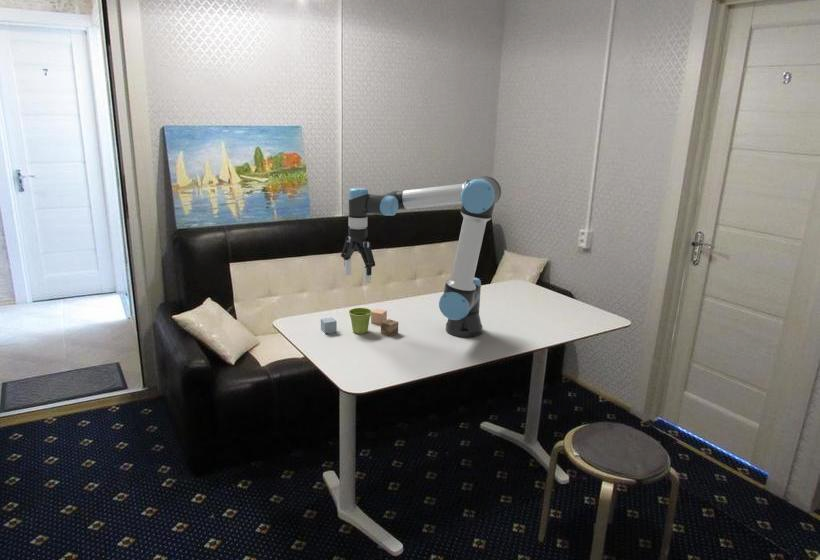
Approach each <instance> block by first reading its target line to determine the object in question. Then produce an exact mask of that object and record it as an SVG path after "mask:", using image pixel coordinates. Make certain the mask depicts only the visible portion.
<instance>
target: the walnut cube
mask: <svg viewBox="0 0 820 560" xmlns="http://www.w3.org/2000/svg"><path fill="white" fill-rule="evenodd" d="M380 334H381V335H383V336H387V337H393V336H395V335H397V334H399V321H397V320H393V319H390V318H389V319H387V320H385V321H383V322H381V325H380Z"/></svg>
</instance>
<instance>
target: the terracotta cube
mask: <svg viewBox="0 0 820 560" xmlns="http://www.w3.org/2000/svg"><path fill="white" fill-rule="evenodd" d="M371 311H372V313H371V316H370V324H373V323H375V325H379V324H380V325H379V326H381V322H383V321H385V320H388V319H387V318H388V310H386V309H385V310H384V309H381V308H380V309H379V308H375V309H373V310H371Z"/></svg>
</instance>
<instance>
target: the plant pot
mask: <svg viewBox="0 0 820 560" xmlns="http://www.w3.org/2000/svg"><path fill="white" fill-rule="evenodd" d="M372 311H373V310H372V309H369V308H368V307H367V308H366V307H353V308H351V309H350V310H348V314H349V316H350V320H351V327H352V333H355V334H357V335H363V334H365V333H366V334H367V333H368V330H369V325H370V320H371V313H372Z"/></svg>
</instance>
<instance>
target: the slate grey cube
mask: <svg viewBox="0 0 820 560" xmlns="http://www.w3.org/2000/svg"><path fill="white" fill-rule="evenodd" d="M337 326H338V325H337V320H336V319H335V318H334V317H324V318H320V331H321V330H322V331H323V332H324V333H325V334H324V333H323V332H322V331H321V332H322V333H323V334H324V335H327V334H326V333H331V334H335V333H334V332H338V331H337V330H338V329H337V328H338V327H337Z"/></svg>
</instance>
